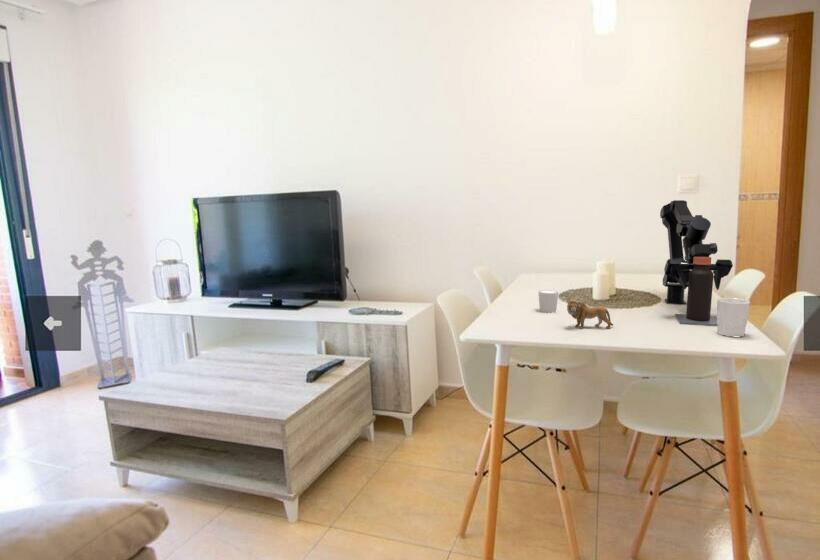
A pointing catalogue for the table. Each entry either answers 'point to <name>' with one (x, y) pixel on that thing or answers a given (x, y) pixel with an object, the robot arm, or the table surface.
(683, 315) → the slate coaster
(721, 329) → the white cup
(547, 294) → the ribbed white pot
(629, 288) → the table surface
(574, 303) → the lion figurine
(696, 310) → the vinegar
